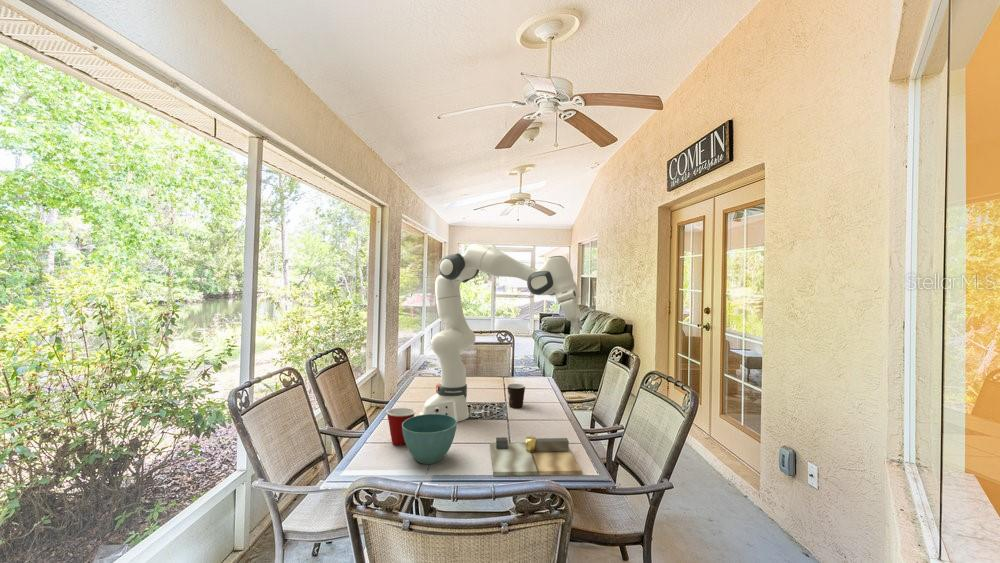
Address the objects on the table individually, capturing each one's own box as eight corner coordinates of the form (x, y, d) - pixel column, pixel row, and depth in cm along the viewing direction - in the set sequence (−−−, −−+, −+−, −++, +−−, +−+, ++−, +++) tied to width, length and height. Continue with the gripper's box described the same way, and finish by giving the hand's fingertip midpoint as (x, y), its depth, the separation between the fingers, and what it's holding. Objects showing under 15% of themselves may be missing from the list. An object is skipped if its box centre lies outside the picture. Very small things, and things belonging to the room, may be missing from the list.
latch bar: (526, 452, 138) (526, 440, 138) (525, 448, 142) (525, 436, 142) (568, 451, 139) (569, 440, 139) (566, 447, 143) (566, 436, 143)
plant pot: (407, 475, 124) (407, 435, 124) (397, 452, 140) (397, 417, 140) (463, 465, 131) (463, 428, 131) (447, 444, 148) (448, 411, 148)
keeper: (496, 449, 141) (496, 440, 141) (495, 445, 144) (496, 437, 144) (507, 449, 141) (507, 440, 141) (507, 445, 144) (507, 437, 144)
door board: (493, 475, 124) (493, 471, 124) (490, 446, 146) (490, 443, 146) (582, 474, 126) (582, 470, 126) (565, 445, 148) (565, 442, 148)
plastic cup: (421, 440, 151) (421, 408, 151) (402, 450, 141) (403, 416, 141) (398, 434, 156) (399, 404, 156) (379, 444, 146) (379, 412, 146)
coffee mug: (523, 410, 188) (523, 388, 188) (505, 408, 190) (505, 387, 190) (526, 402, 200) (527, 382, 200) (509, 401, 201) (510, 381, 201)
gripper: (563, 299, 163) (574, 331, 161) (555, 297, 144) (567, 334, 142) (578, 294, 162) (589, 327, 160) (572, 292, 142) (584, 329, 140)
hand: (579, 330), depth 151 cm, fingers open, 8 cm apart
